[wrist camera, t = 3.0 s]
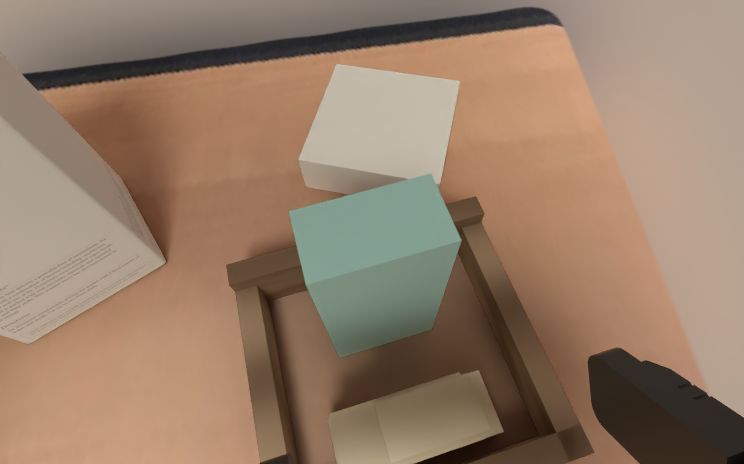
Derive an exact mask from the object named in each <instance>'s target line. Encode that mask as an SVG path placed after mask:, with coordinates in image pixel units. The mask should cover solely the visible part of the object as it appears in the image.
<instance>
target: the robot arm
mask: <svg viewBox="0 0 744 464" xmlns="http://www.w3.org/2000/svg"><path fill="white" fill-rule="evenodd" d="M588 370H589V381H590V392H591V403H592V407H593V410H594V413H595V415H596V417H597V419H598V420H599V422H600V423H601V425H602V426H603V427H604V428H605V429H606V430H607V431H608V432H609V433H610V434H611V435H612V436H613V437H614V438H615V439H616V440H617V441H618V442H619V443H620V444H621V445H622V446H623V447H624V448H625V449H626V450H627V451H628V452H629V453H630V454H631V455H632V456H633V457H634V458H635V459H636V460H637V461H638V462H639V463H640V464H744V418H743V417H742V416H740V415H739V414H737V413H736V412H734V411H733V410H731V409H730V408H728V407H727V406H725V405H724V404H722V403H721V402H719V401H718V400H716V399H715V398H713V397H712V396H711V397H709V396H708V395H707V393H706V392H704V391H703V390H701V389H700V388H698V387H697V386H695V385H693V386H692V385H691V383H690V382H689V381H688V380H686V379H684V378H683V377H681V376H680V375H678V374H677V373H675V372H674V371H672V370H671V369H669V368H666V367H663V366H660V365H658V364H655V363H652V362H650V361H647V360H646V361H643V362H640V361H639V360H638V359H636V358H635V357H633V356H632V355H630V354H629V353H628V352H626V351H625V350H623V349H621V348H613V349H610V350H607V351H604V352H601V353H598V354H595V355H592V356H590V357H589V359H588ZM260 464H295V461H294V459H293V456H292V455H291V453H288V454H285V455H281V456H278V457H275V458H272V459H269V460H266V461H263V462H261V463H260Z"/></svg>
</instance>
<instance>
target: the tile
mask: <svg viewBox="0 0 744 464" xmlns="http://www.w3.org/2000/svg"><path fill="white" fill-rule="evenodd" d="M459 85H460V81H458V80H451V79H443V78H436V77H429V76H422V75H414V74H407V73H400V72H393V71H386V70H378V69H371V68H364V67H357V66H350V65H342V64H336V67H335V69H334V72H333V74H332V77H331V79H330V82H329V84H328V87H327V89H326V92H325V94H324V97H323V99H322V102H321V104H320V107H319V109H318V111H317V114H316V116H315V119H314V121H313V124H312V126H311V129H310V131H309V134H308V136H307V139H306V141H305V144H304V146H303V149H302V151H301V154H300V156H299V159H298V161H299V164H300V168H301V171H302V175H303V178H304V181H305V185H306V187H309V188H314V189H320V190H325V191H331V192H336V193H342V194H347V195H352V194H355V193H359V192H363V191H367V190H370V189H374V188H378V187H382V186H386V185H389V184H393V183H397V182H401V181H404V180H408V179H412V178H416V177H420V176H423V175H427V174H432V177H433V179H434V181H435V183H436V185H437V188H438V190H439V188H440V183H441V178H442V173H443V168H444V162H445V157H446V152H447V147H448V142H449V137H450V132H451V127H452V122H453V116H454V111H455V106H456V101H457V96H458V90H459Z"/></svg>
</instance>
